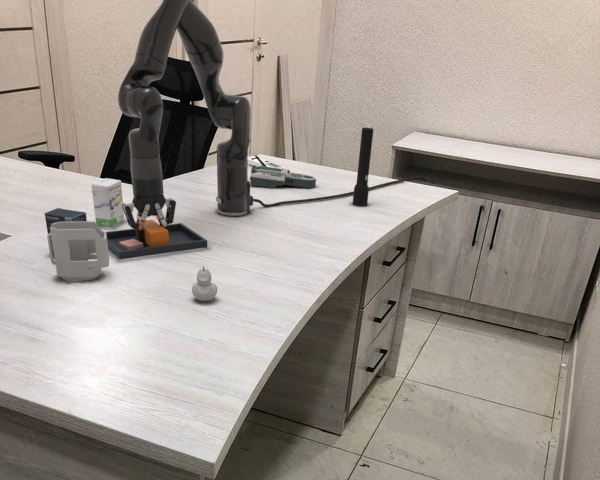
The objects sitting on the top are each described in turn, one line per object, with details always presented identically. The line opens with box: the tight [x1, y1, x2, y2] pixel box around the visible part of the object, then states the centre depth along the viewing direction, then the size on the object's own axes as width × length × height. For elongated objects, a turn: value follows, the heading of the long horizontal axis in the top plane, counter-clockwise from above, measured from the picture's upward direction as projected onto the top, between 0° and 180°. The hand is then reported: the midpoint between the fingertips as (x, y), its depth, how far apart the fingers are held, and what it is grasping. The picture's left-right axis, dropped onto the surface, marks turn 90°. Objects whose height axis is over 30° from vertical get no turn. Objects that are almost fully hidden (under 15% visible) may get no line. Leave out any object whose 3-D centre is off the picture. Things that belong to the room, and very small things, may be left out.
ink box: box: [90, 177, 126, 228], centre depth 175 cm, size 8×5×12 cm, turn 167°
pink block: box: [119, 239, 144, 250], centre depth 161 cm, size 4×4×1 cm
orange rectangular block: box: [135, 219, 169, 247], centre depth 163 cm, size 5×11×5 cm, turn 33°
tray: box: [98, 222, 208, 260], centre depth 164 cm, size 24×17×2 cm
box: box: [44, 207, 88, 257], centre depth 152 cm, size 8×6×11 cm
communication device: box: [249, 154, 317, 189], centre depth 226 cm, size 12×24×9 cm, turn 89°
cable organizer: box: [46, 220, 110, 281], centre depth 140 cm, size 7×12×12 cm, turn 103°
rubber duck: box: [191, 265, 218, 302], centre depth 135 cm, size 5×7×8 cm
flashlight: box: [352, 127, 374, 207], centre depth 205 cm, size 5×24×5 cm
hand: (152, 241), depth 164 cm, fingers closed on orange rectangular block, 5 cm apart
